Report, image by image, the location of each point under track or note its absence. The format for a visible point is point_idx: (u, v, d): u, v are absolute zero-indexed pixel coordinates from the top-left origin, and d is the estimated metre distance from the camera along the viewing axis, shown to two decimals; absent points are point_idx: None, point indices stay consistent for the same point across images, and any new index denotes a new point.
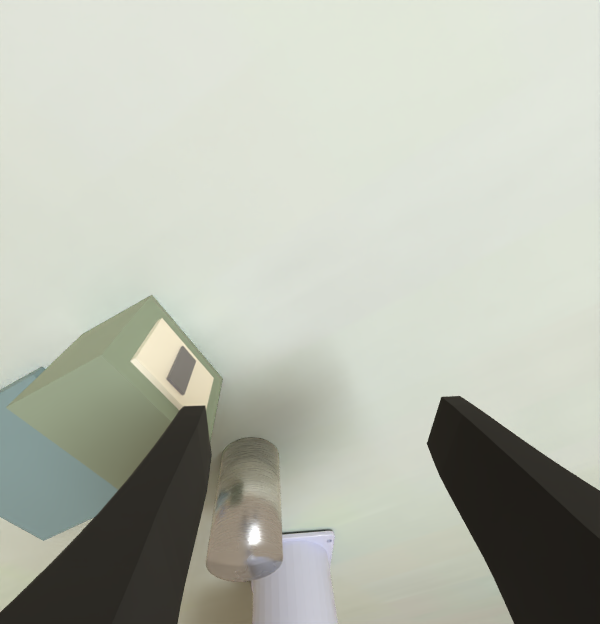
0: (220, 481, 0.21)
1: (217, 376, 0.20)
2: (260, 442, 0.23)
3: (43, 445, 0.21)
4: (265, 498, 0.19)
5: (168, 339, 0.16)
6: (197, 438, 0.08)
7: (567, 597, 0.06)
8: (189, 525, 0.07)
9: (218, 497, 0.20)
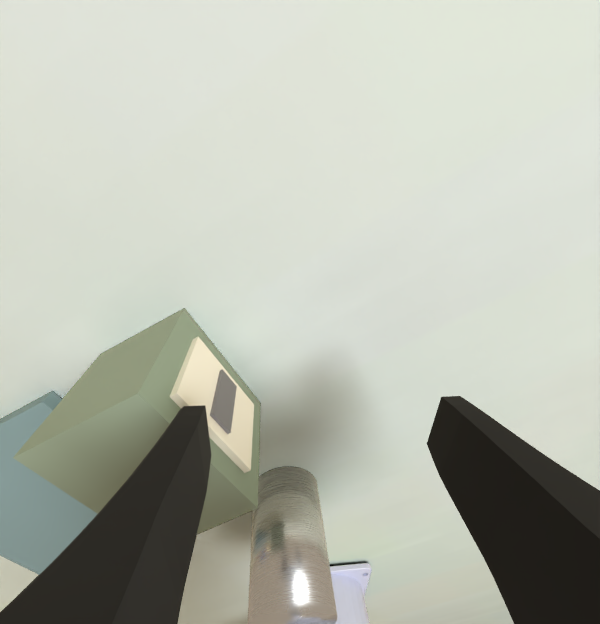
0: (256, 520, 0.18)
1: (255, 400, 0.17)
2: (298, 472, 0.20)
3: None
4: (312, 544, 0.17)
5: (207, 363, 0.14)
6: (197, 438, 0.08)
7: (567, 597, 0.06)
8: (189, 525, 0.07)
9: (256, 541, 0.17)
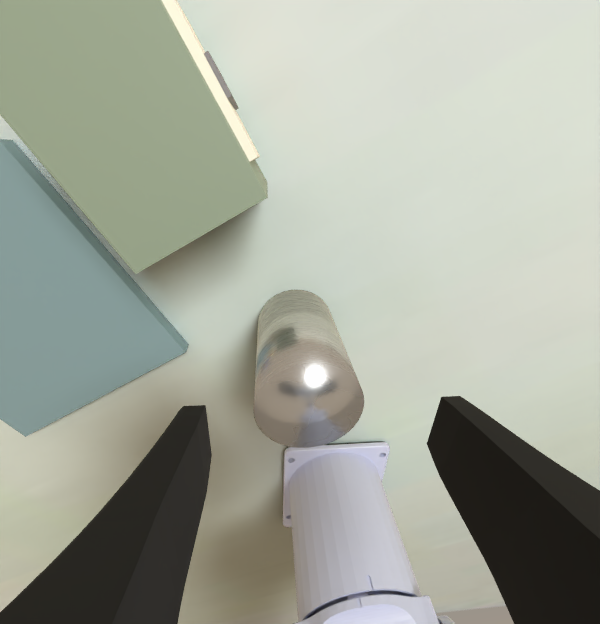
0: (262, 330, 0.15)
1: None
2: (310, 294, 0.17)
3: (19, 276, 0.15)
4: (331, 336, 0.14)
5: (201, 45, 0.11)
6: (197, 438, 0.08)
7: (567, 597, 0.06)
8: (189, 525, 0.07)
9: (262, 341, 0.14)
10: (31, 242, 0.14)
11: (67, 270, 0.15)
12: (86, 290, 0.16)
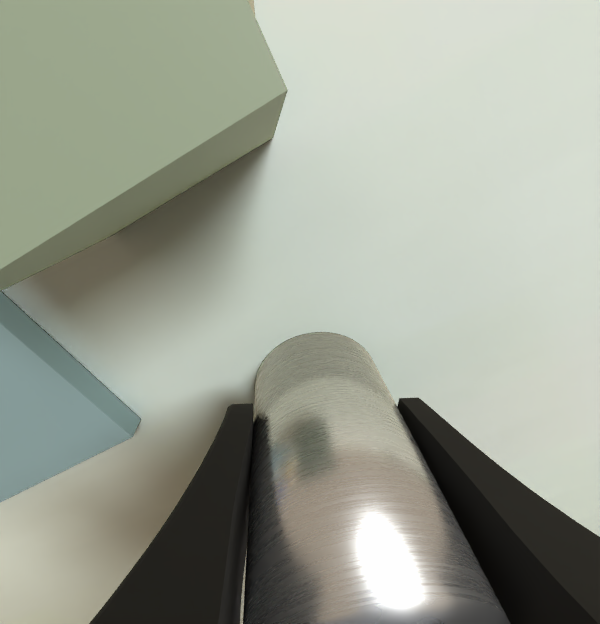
0: (263, 418, 0.08)
1: None
2: (346, 341, 0.10)
3: None
4: (408, 453, 0.07)
5: None
6: (250, 435, 0.08)
7: None
8: (245, 521, 0.07)
9: (263, 454, 0.07)
10: None
11: None
12: None
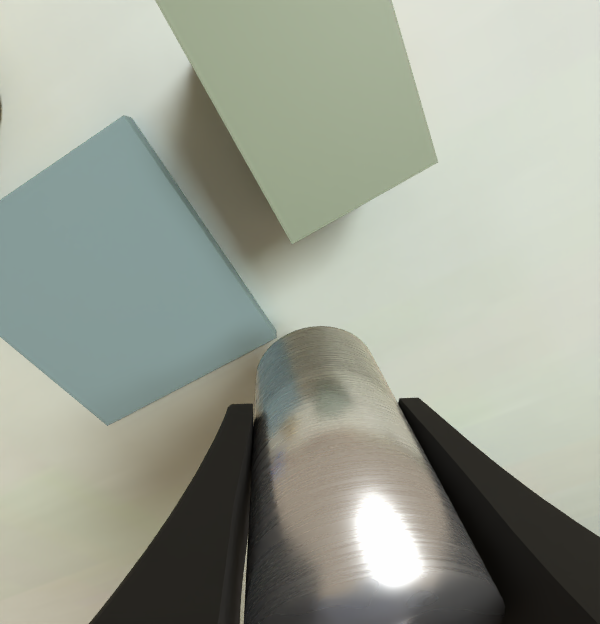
0: (263, 409, 0.08)
1: None
2: (345, 335, 0.10)
3: (124, 258, 0.15)
4: (405, 440, 0.07)
5: None
6: (250, 435, 0.08)
7: None
8: (245, 521, 0.07)
9: (264, 442, 0.07)
10: (141, 223, 0.14)
11: (172, 252, 0.15)
12: (188, 273, 0.15)
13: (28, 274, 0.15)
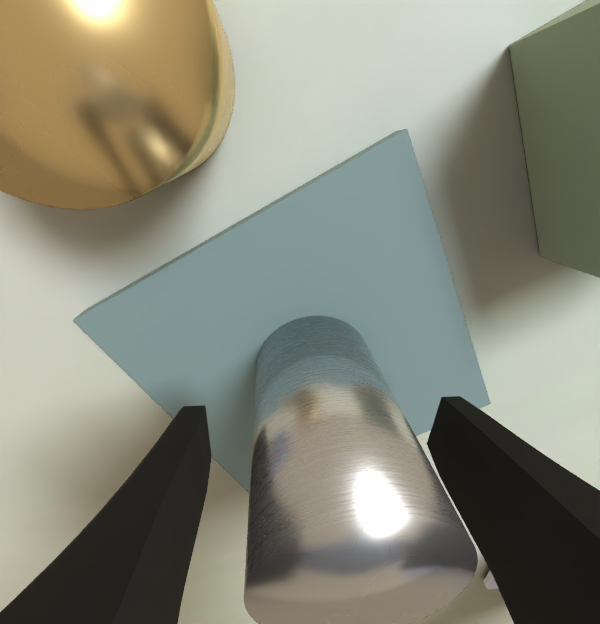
0: (263, 390, 0.09)
1: None
2: (340, 324, 0.11)
3: (344, 313, 0.11)
4: (392, 414, 0.07)
5: None
6: (197, 438, 0.08)
7: (567, 597, 0.06)
8: (189, 525, 0.07)
9: (264, 418, 0.08)
10: (380, 270, 0.11)
11: (406, 306, 0.11)
12: (415, 331, 0.12)
13: (219, 334, 0.11)
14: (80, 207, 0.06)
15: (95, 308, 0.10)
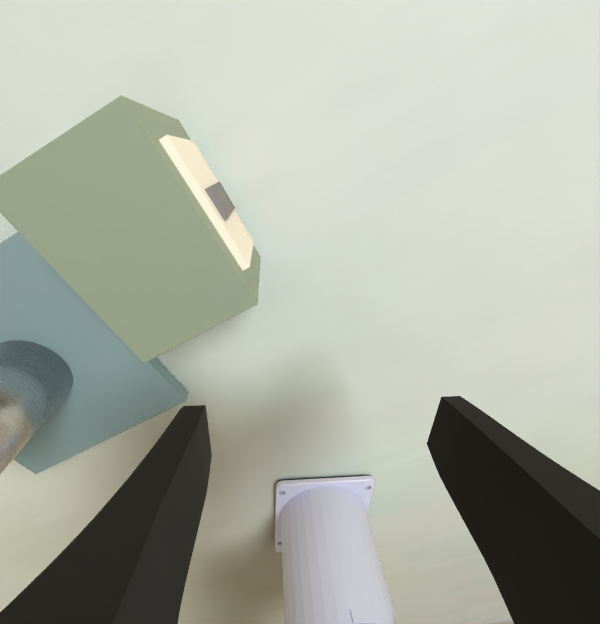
0: None
1: (255, 250, 0.16)
2: (28, 346, 0.16)
3: (36, 338, 0.17)
4: None
5: (202, 163, 0.12)
6: (197, 438, 0.08)
7: (567, 597, 0.06)
8: (189, 525, 0.07)
9: None
10: (48, 311, 0.16)
11: (80, 333, 0.17)
12: (96, 350, 0.17)
13: None
14: None
15: None
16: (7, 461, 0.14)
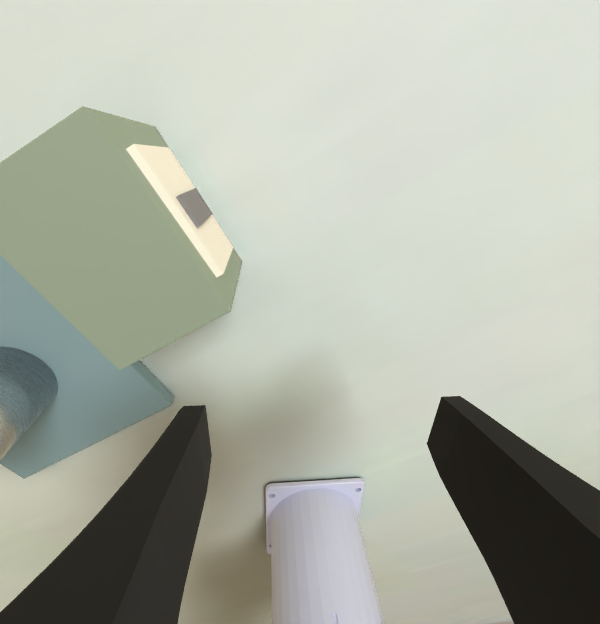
0: None
1: (236, 255, 0.16)
2: (11, 352, 0.16)
3: (19, 344, 0.17)
4: None
5: (177, 170, 0.12)
6: (197, 438, 0.08)
7: (567, 597, 0.06)
8: (189, 525, 0.07)
9: None
10: (30, 317, 0.16)
11: (63, 339, 0.17)
12: (80, 355, 0.17)
13: None
14: None
15: None
16: None
